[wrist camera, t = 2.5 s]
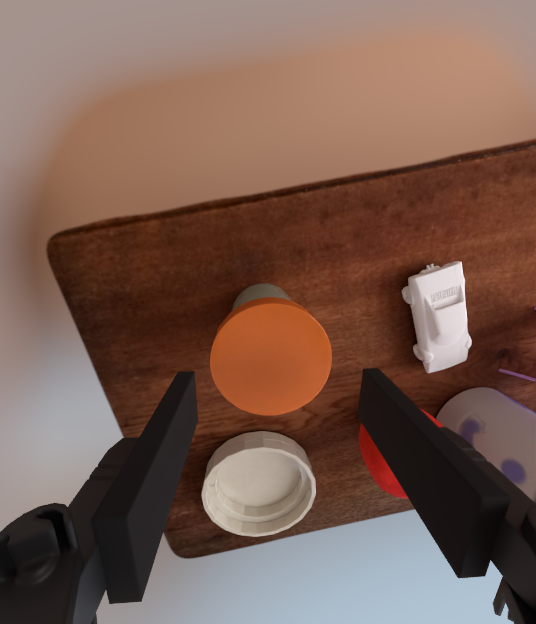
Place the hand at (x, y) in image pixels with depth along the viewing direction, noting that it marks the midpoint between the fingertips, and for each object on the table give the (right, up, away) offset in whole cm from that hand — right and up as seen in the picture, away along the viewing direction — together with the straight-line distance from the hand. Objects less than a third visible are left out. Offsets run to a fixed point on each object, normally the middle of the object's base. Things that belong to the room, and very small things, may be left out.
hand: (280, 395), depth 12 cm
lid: (0, +1, +3) cm, 4 cm away
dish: (-2, -16, +19) cm, 25 cm away
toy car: (+17, +4, +15) cm, 23 cm away
